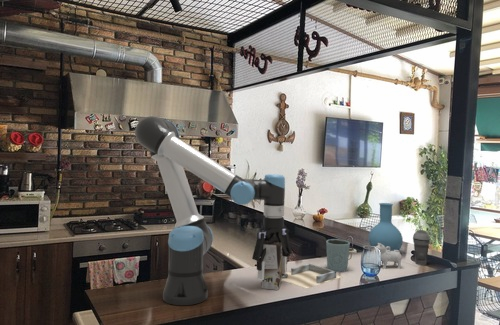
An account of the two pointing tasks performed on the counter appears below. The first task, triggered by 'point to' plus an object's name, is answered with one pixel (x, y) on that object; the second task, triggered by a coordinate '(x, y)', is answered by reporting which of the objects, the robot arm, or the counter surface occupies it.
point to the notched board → (310, 275)
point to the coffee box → (272, 266)
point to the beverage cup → (421, 246)
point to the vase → (386, 230)
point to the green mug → (337, 254)
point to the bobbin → (285, 274)
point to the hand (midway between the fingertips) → (272, 276)
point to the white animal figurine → (389, 256)
